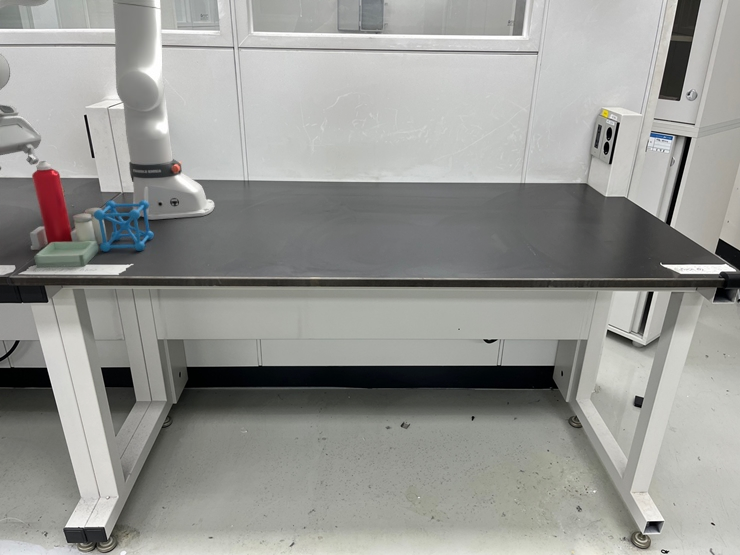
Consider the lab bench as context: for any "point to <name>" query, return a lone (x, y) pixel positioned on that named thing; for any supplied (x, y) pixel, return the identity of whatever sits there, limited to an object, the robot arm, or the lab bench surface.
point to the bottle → (52, 203)
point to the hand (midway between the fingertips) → (17, 166)
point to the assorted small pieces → (70, 243)
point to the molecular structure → (124, 225)
